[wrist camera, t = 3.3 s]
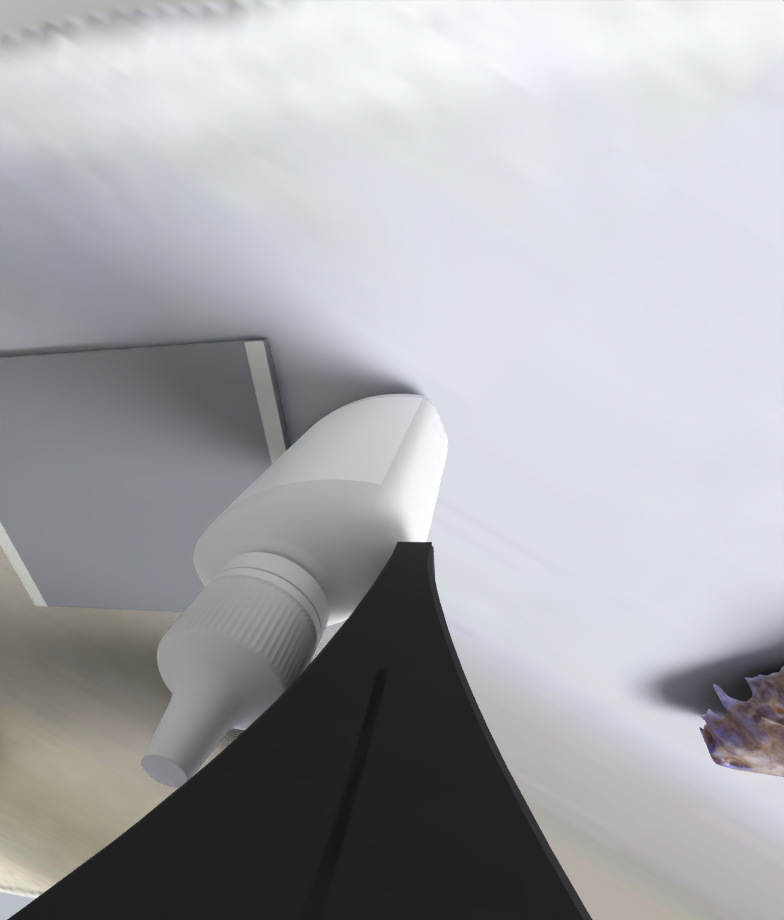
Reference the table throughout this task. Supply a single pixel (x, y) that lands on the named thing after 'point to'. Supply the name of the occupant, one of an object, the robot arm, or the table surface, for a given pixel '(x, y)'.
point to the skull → (750, 728)
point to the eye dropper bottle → (292, 568)
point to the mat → (129, 465)
